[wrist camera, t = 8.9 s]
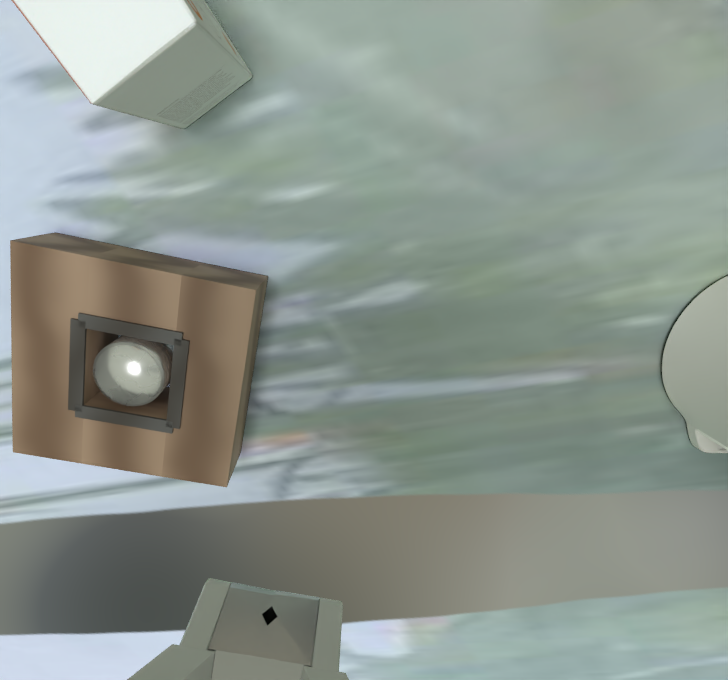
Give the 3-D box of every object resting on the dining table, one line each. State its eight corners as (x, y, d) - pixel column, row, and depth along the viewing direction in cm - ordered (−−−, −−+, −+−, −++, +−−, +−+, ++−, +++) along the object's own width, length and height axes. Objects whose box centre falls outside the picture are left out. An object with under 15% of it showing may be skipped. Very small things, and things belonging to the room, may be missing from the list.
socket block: (267, 276, 38) (255, 290, 33) (240, 452, 42) (226, 488, 37) (55, 232, 36) (8, 240, 31) (52, 420, 41) (11, 453, 36)
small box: (104, 22, 32) (-51, -77, 20) (179, -40, 31) (65, -185, 19) (184, 133, 34) (90, 107, 22) (256, 79, 33) (200, 19, 21)
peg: (187, 330, 38) (166, 349, 34) (181, 387, 40) (160, 412, 35) (123, 317, 38) (93, 336, 33) (119, 375, 39) (90, 400, 35)
